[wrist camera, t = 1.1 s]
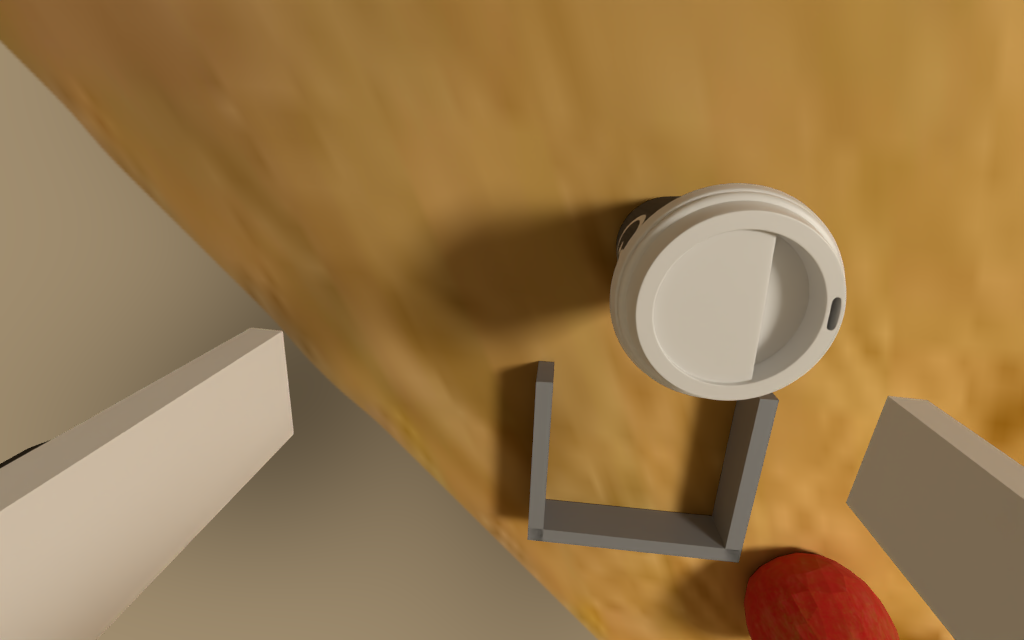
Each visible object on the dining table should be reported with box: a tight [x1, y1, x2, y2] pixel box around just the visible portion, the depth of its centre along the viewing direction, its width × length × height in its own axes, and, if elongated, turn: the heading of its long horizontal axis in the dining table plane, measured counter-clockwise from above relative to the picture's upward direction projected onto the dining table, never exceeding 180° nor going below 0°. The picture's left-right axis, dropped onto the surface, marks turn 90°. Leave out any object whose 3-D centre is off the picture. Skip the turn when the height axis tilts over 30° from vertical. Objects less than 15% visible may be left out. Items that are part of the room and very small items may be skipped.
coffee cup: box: [610, 183, 846, 401], centre depth 26 cm, size 10×10×15 cm
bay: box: [528, 361, 779, 563], centre depth 36 cm, size 14×16×4 cm
